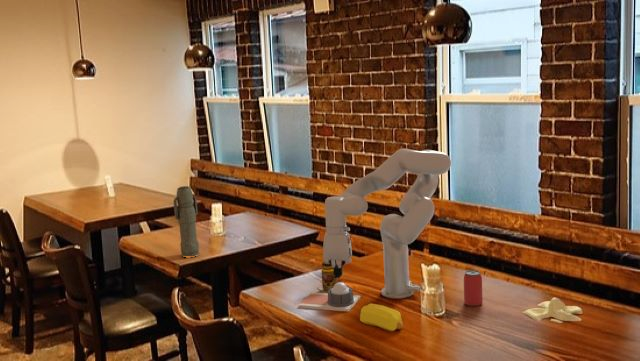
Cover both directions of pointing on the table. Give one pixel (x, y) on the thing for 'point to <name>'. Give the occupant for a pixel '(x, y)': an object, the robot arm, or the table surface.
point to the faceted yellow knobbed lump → (381, 317)
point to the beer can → (473, 288)
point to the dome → (340, 288)
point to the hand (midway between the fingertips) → (338, 276)
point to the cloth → (554, 311)
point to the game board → (326, 307)
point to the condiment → (327, 277)
